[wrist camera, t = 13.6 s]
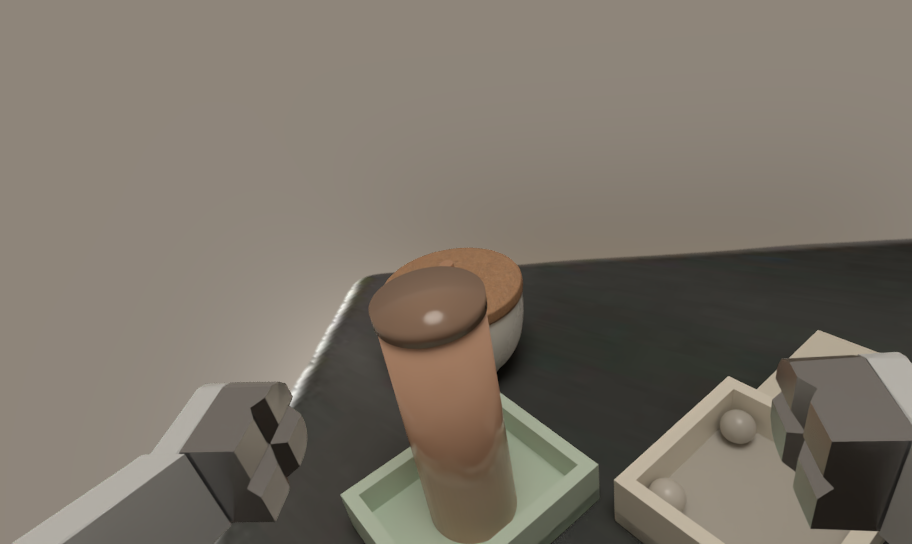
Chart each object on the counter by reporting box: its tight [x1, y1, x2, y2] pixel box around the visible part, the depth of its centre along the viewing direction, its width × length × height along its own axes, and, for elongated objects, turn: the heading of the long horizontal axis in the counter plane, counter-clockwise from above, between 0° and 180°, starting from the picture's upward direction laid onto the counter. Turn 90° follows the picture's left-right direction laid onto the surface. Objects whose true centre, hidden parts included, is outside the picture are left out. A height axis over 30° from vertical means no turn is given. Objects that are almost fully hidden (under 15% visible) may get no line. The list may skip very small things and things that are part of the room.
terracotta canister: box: [369, 266, 517, 544], centre depth 29 cm, size 5×5×15 cm
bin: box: [614, 330, 885, 544], centre depth 32 cm, size 22×10×4 cm, turn 128°
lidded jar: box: [385, 248, 523, 372], centre depth 43 cm, size 11×11×9 cm
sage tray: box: [341, 393, 600, 544], centre depth 33 cm, size 12×9×3 cm
